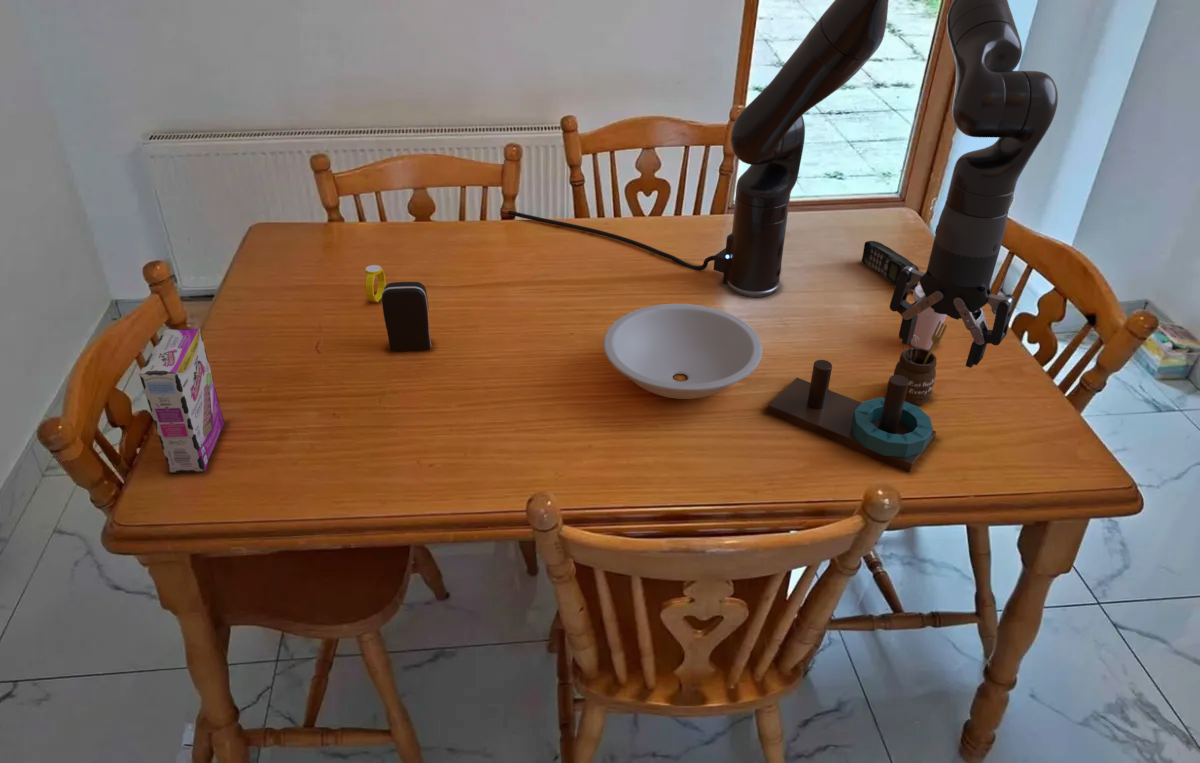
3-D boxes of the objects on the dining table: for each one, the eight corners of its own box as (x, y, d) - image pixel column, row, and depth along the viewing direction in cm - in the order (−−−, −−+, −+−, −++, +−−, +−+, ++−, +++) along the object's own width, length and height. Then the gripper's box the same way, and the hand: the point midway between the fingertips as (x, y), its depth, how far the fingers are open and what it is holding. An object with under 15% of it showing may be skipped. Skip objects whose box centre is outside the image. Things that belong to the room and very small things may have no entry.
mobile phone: (862, 240, 174) (918, 272, 163) (874, 237, 175) (931, 269, 164) (858, 264, 177) (913, 298, 165) (870, 260, 178) (926, 294, 166)
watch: (379, 307, 162) (374, 277, 158) (363, 306, 162) (359, 276, 159) (391, 290, 167) (386, 261, 163) (376, 289, 167) (371, 260, 164)
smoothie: (944, 356, 150) (964, 280, 142) (903, 351, 151) (921, 275, 143) (940, 335, 155) (959, 260, 147) (901, 331, 156) (918, 256, 148)
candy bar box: (207, 472, 126) (176, 373, 116) (169, 474, 125) (135, 374, 116) (227, 422, 135) (200, 326, 125) (192, 424, 135) (162, 327, 125)
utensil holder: (881, 389, 143) (896, 322, 136) (914, 379, 145) (930, 313, 138) (906, 410, 138) (923, 342, 131) (940, 400, 140) (958, 332, 134)
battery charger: (433, 338, 154) (426, 277, 147) (431, 351, 151) (424, 289, 144) (391, 340, 153) (382, 278, 147) (388, 352, 150) (379, 290, 144)
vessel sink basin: (628, 437, 133) (629, 400, 129) (586, 349, 151) (585, 314, 148) (783, 411, 138) (789, 374, 134) (723, 328, 157) (727, 294, 153)
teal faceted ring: (839, 437, 131) (842, 423, 129) (871, 402, 137) (874, 389, 136) (910, 466, 125) (914, 453, 124) (939, 429, 132) (943, 416, 131)
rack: (767, 412, 138) (775, 353, 132) (795, 385, 143) (804, 327, 137) (909, 472, 127) (925, 410, 121) (934, 439, 133) (950, 379, 127)
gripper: (1038, 246, 110) (1002, 359, 120) (922, 213, 117) (897, 323, 127) (1018, 269, 105) (982, 386, 115) (898, 234, 112) (874, 346, 122)
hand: (937, 353), depth 121 cm, fingers open, 8 cm apart
